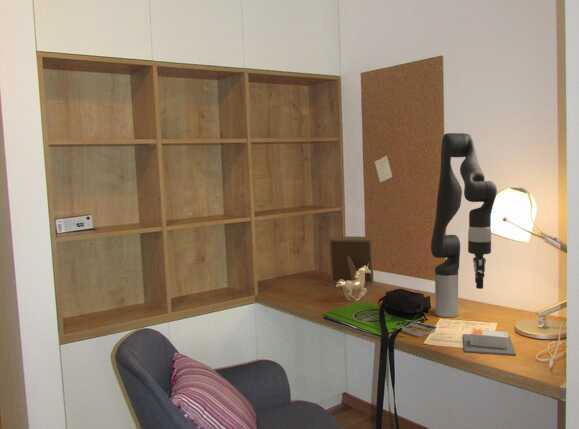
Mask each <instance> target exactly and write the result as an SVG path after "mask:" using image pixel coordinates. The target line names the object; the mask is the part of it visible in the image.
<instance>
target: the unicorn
mask: <svg viewBox="0 0 579 429" xmlns="http://www.w3.org/2000/svg"><path fill="white" fill-rule="evenodd" d="M368 264H369V263H368ZM365 273H369V274H370V273H371V271H370V270H369V269H368V265H367V266H365V265H364V267H361V268H360V269H358V271H357V272H356V274H355V276H354V277H356V278H355V279H356V280H354V281H350V280H347V281H345V280H343V279H341V280H339V281H338V282H337V283H336V285H335V288H342V289H343V292H344V297H345V298H346V299H347V300H348V302H351V301H352V300H351V299H354V300H355V302H358V301H360V299H361V298H363V297H364V296H365V295H366V293H367V291H368V289H367V288H366V287H364V286H365ZM358 290H359V291H360V292H359V295H358V297H357V298H356V297H355V296H354V295H352V294H353V291H358Z"/></svg>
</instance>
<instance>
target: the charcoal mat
mask: <svg viewBox="0 0 579 429" xmlns="http://www.w3.org/2000/svg"><path fill="white" fill-rule="evenodd" d="M470 334H471V333H469V334H468V333H462V336H463V338H462V340H463V339H464V340H463V352H464V353H469V354H470V353H472V354H487V355H501V356H502V355H503V356H516V350H515V349H514V345H513V342H512V339H511V336H508V347H507V349H503V348H493V347H482V346H472V345H470Z"/></svg>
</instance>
